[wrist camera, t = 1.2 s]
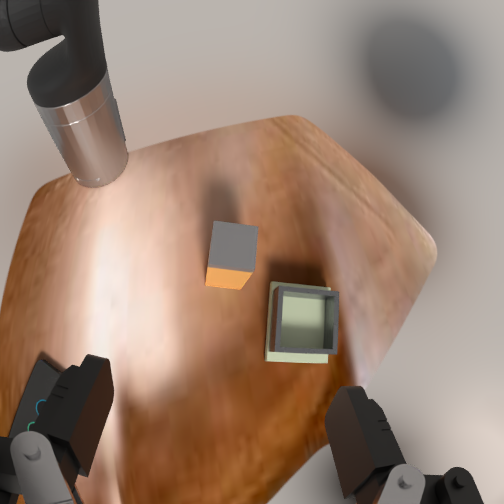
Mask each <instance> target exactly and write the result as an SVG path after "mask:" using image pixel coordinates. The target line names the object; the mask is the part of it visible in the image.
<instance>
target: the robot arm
mask: <svg viewBox="0 0 504 504" xmlns="http://www.w3.org/2000/svg"><path fill="white" fill-rule="evenodd" d="M98 6H99V5H98V0H0V51H6V52H9V51H15V50H20V49H23V48H26V47H28V46H31V45H34V44H37V43H39V42H42V41H45V40H48V39H51V38H54V37H57V36H60V35H64V37H65V39H64V40H63V41H61V42H60V43H59V44H57V45H56V46H54V47H53V48H52V49H50V50H49V51H48V52H46V53H45V54H44V55H43V56H42V57H41V58H40V59H39V60H38V61H37V62H36V63H35V64H34V66H33V67H32V69H31V71H30V73H29V75H28V78H27V87H28V90H29V93H30V95H31V97H32V99H33V101H34V103H35V106H36V108H37V110H38V112H39V114H40V116H41V118H42V119H43V121H44V124H45V125H46V127H47V129H48V131H49V133H50V135H51V137H52V139H53V141H54V143H55V144H56V146H57V148H58V150H59V151H60V154H61V155H62V157H63V159H64V161H65V162H66V164H67V166H68V168H69V169H70V171H71V173H72V175H73V176H74V178H75V179H76V181H77V182H78V183H79V184H81V185H83V186H85V187H90V188H96V187H101V186H104V185H107V184H109V183H111V182H112V181H114V180H115V179H116V178H117V177H118V176H119V175H120V174H121V173H122V172H123V170H124V168H125V167H126V164H127V161H128V153H127V149H126V145H125V141H126V139H125V136H124V131H123V127H122V123H121V119H120V115H119V111H118V106H117V102H116V99H114V96H113V92H112V88H111V84H110V80H109V74H108V70H107V63H106V59H105V53H104V47H103V40H102V33H101V27H100V18H99V7H98ZM113 398H114V386H113V380H112V374H111V367H110V361H109V359H107V358H102V357H98V356H94V355H90V354H87V355H86V357H85V358H84V360H83V362H82V364H81V365H80V367H79V366H75V365H71V366H70V367H69V368H68V369H66V370H65V371H64V372H62V373H61V375H60V377H59V379H58V380H57V382H56V385H55V386H54V387H53V389H52V391H51V394H50V395H49V396H48V398H47V400H46V402H45V404H44V406H43V408H42V410H41V411H40V413H39V415H38V417H37V419H36V421H35V423H34V425H33V427H32V428H31V430H30V431H26V432H22V433H20V434H18V435H17V436H16V437H15V438H7V437H1V436H0V504H16V503H17V500H18V496H19V494H22V495H23V497H24V500H25V503H26V504H84V502H83V500H82V498H81V496H80V494H79V491H78V489H77V487H76V485H75V482H76V479H77V476H78V474H79V475H82V476H85V477H88V475H89V472H90V469H91V465H92V462H93V459H94V456H95V453H96V450H97V447H98V444H99V441H100V438H101V435H102V432H103V429H104V426H105V423H106V420H107V417H108V414H109V412H110V409H111V406H112V403H113ZM325 428H326V432H327V436H328V439H329V443H330V447H331V450H332V454H333V458H334V462H335V465H336V469H337V472H338V477H339V480H340V484H341V488H342V492H343V496H344V499H347V498H353V497H356V501H357V503H356V504H484V503H483V501H482V499H481V496H480V493H479V491H478V489H477V486H476V484H475V482H474V480H473V477H472V476H471V474H470V473H469V472H468V471H467V470H465V469H464V468H461V467H454V468H451V469H450V470H449V471H448V472H446V473H445V474H444V475H424V474H423V473H422V472H421V471H420V470H419V469H418V468H417V467H415V466H413V465H409V464H407V463H406V462H405V460H404V457H403V455H402V453H401V450H400V448H399V446H398V443H397V441H396V439H395V437H394V434H393V432H392V431H391V427H390V425H389V423H388V422H387V419H386V416H385V414H384V412H383V410H382V408H381V407H380V406H379V405H378V404H377V403H376V402H375V401H374V400H373V399H368V397H367V395H366V393H365V390H364V389H363V387H361V386H342V387H340V388H339V390H338V391H337V393H336V395H335V397H334V399H333V401H332V403H331V405H330V407H329V409H328V411H327V413H326V416H325Z"/></svg>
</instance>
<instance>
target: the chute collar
mask: <svg viewBox="0 0 504 504" xmlns="http://www.w3.org/2000/svg"><path fill="white" fill-rule="evenodd" d="M283 296H287V297H297V298H307V299H318V300H325V318H324V340H323V349H311V348H290V347H280V341H281V326H282V310H283ZM338 317H339V292H338V291H328V290H317V289H308V288H298V287H289V286H278V287H276V288H275V289H274V290H273V295H272V310H271V325H270V339H269V352H280V353H300V354H337V343H338Z"/></svg>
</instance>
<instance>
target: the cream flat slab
mask: <svg viewBox="0 0 504 504" xmlns="http://www.w3.org/2000/svg"><path fill="white" fill-rule="evenodd" d="M278 286H289V287H298V288H308V289H317V290H328V291H330V288H329V287H320V286H310V285H301V284H292V283H283V282H274V281H272V282H271V283H270V292H269V306H268V321H267V335H266V348H265V361H276V362H299V363H328V354H300V353H280V352H269V339H270V325H271V310H272V295H273V290H274V289H275V288H276V287H278ZM324 318H325V300H318V299H307V298H297V297H287V296H283V310H282V326H281V341H280V347H290V348H311V349H323V340H324Z"/></svg>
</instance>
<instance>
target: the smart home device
mask: <svg viewBox="0 0 504 504" xmlns="http://www.w3.org/2000/svg"><path fill="white" fill-rule="evenodd" d="M60 375H61V372H60V371H58V370H57V369H56V368H55V367H53V366H52V365H51V364H49V363H48V362H47V361H46V360H39V361H38V362H37V363H36V365H35V367H34V370H33V372H32V374H31V377H30V379H29V382H28V384H27V387H26V389H25V392H24V394H23V397H22V400H21V402H20V405H19V408H18V411H17V413H16V416H15V419H14V422H13V425H12V428H11V431H10V435H9V438H15V437H16V436H17V435H18V434H20V433H22V432H26V431H30V430H31V428H32V427H33V425H34V423H35V421H36V419H37V417H38V415H39V413H40V411H41V410H42V408H43V406H44V404H45V402H46V400H47V398H48V396H49V395H50V394H51V391H52V389H53V387H54V386H55V385H56V382H57V380H58V379H59V377H60Z"/></svg>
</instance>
